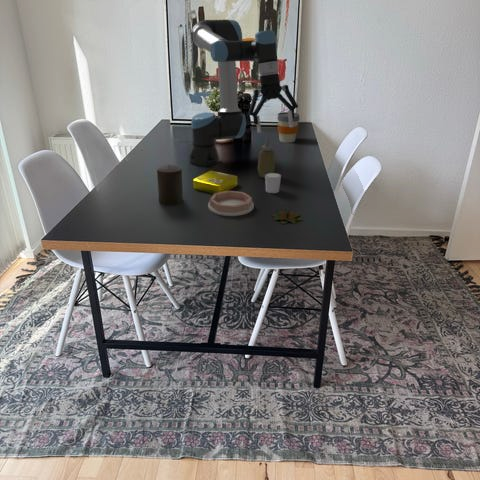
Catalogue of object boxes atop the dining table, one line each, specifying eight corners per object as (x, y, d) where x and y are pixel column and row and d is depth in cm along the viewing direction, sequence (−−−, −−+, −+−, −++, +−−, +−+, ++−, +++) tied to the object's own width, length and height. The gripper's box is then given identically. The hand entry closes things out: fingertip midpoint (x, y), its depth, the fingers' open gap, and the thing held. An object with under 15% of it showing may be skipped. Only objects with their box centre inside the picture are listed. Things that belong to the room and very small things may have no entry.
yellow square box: (239, 185, 202) (239, 175, 200) (220, 196, 191) (220, 185, 188) (210, 179, 209) (210, 169, 207) (191, 189, 197) (191, 178, 195)
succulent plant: (280, 228, 164) (281, 216, 162) (265, 215, 174) (266, 204, 172) (309, 222, 169) (310, 211, 166) (293, 210, 178) (293, 199, 176)
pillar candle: (172, 207, 179) (170, 170, 172) (153, 201, 183) (151, 165, 177) (187, 199, 186) (186, 164, 179) (169, 194, 191) (167, 159, 184)
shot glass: (282, 189, 197) (283, 173, 194) (278, 194, 192) (278, 178, 188) (266, 187, 199) (267, 171, 196) (262, 192, 194) (263, 176, 190)
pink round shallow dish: (215, 196, 189) (215, 188, 188) (257, 200, 186) (258, 192, 184) (202, 213, 174) (202, 204, 172) (248, 218, 170) (248, 209, 169)
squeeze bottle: (273, 180, 207) (275, 141, 199) (255, 178, 208) (256, 139, 200) (275, 174, 214) (277, 136, 206) (258, 172, 215) (259, 135, 207)
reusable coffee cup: (298, 143, 261) (300, 117, 254) (277, 143, 261) (278, 116, 254) (296, 137, 272) (298, 112, 265) (275, 137, 272) (277, 111, 265)
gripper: (241, 78, 171) (248, 135, 177) (302, 69, 176) (307, 125, 183) (236, 79, 178) (243, 134, 184) (295, 70, 183) (300, 124, 190)
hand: (275, 129), depth 184 cm, fingers open, 13 cm apart
